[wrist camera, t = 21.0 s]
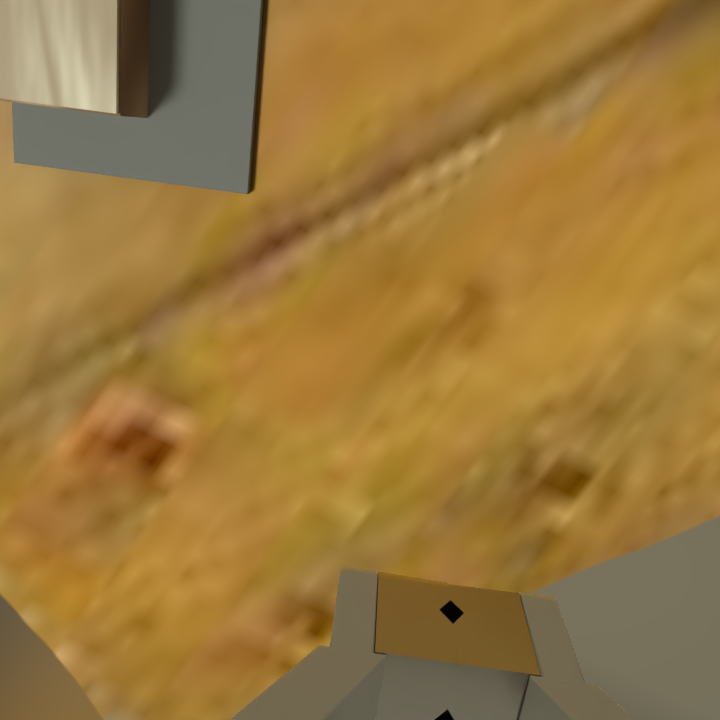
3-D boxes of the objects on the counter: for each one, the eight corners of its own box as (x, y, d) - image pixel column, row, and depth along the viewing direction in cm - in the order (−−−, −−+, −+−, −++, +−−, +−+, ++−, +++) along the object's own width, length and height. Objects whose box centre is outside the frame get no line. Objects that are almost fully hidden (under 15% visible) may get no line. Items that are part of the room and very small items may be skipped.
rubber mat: (271, -119, 35) (269, -122, 35) (249, 193, 40) (247, 194, 40) (8, -152, 35) (2, -157, 35) (19, 162, 41) (14, 162, 40)
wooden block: (119, -85, 32) (-47, -107, 32) (118, 115, 35) (-35, 95, 35) (151, -60, 36) (4, -79, 36) (147, 118, 39) (11, 100, 39)
